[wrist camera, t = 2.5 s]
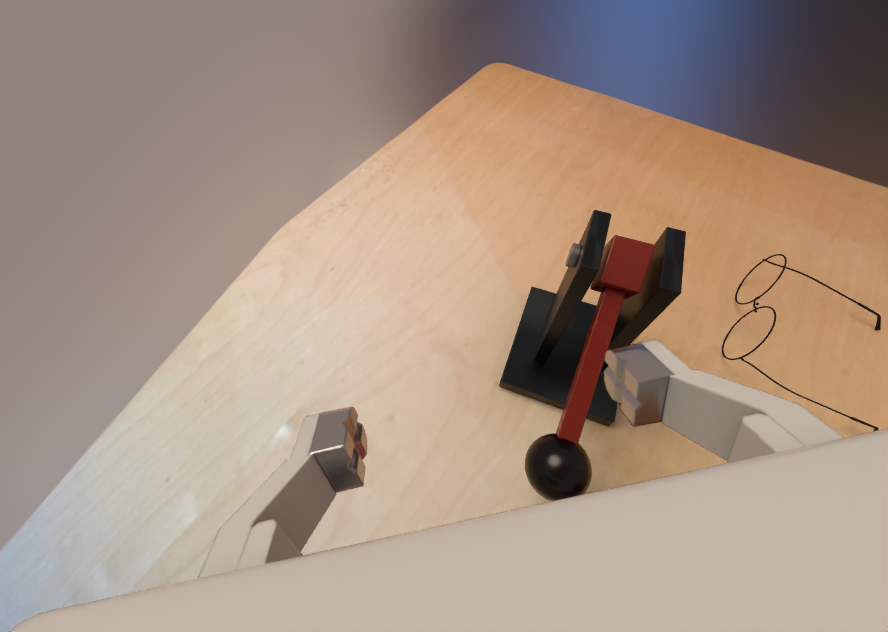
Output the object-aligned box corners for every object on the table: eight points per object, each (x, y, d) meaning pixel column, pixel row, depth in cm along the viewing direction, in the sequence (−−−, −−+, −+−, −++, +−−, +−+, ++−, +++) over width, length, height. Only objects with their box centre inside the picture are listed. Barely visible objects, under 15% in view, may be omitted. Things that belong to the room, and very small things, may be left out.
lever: (573, 498, 21) (586, 526, 18) (515, 474, 22) (517, 497, 18) (648, 262, 22) (674, 244, 18) (589, 246, 23) (604, 227, 19)
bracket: (608, 426, 28) (725, 355, 16) (498, 386, 30) (528, 295, 18) (625, 322, 32) (726, 206, 20) (529, 293, 34) (569, 171, 22)
